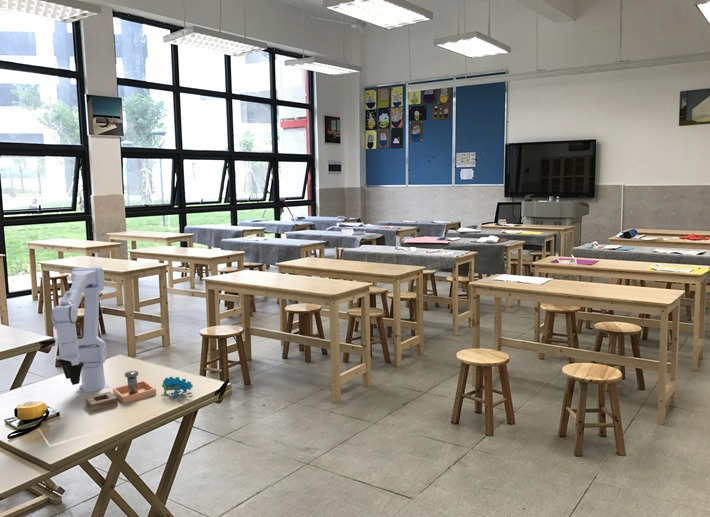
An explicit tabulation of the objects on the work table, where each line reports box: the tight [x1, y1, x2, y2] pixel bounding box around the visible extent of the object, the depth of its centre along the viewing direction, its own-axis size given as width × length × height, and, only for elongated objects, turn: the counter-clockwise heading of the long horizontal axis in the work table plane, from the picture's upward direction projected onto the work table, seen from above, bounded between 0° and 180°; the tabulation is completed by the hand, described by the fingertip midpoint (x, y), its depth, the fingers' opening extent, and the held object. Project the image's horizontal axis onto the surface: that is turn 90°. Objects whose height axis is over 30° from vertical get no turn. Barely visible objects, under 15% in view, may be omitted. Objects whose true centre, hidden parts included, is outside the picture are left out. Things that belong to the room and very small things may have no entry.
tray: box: [112, 380, 157, 404], centre depth 210 cm, size 11×11×2 cm
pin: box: [124, 370, 139, 395], centre depth 209 cm, size 4×4×8 cm
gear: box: [161, 376, 194, 399], centre depth 208 cm, size 11×6×10 cm
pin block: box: [84, 391, 119, 413], centre depth 202 cm, size 8×8×3 cm
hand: (72, 380), depth 200 cm, fingers open, 7 cm apart
